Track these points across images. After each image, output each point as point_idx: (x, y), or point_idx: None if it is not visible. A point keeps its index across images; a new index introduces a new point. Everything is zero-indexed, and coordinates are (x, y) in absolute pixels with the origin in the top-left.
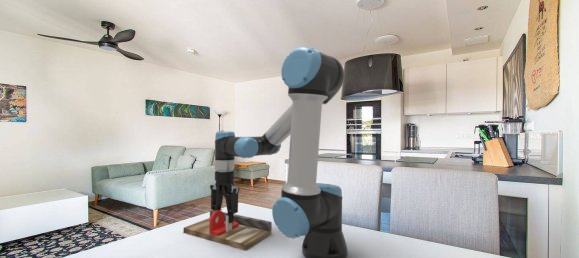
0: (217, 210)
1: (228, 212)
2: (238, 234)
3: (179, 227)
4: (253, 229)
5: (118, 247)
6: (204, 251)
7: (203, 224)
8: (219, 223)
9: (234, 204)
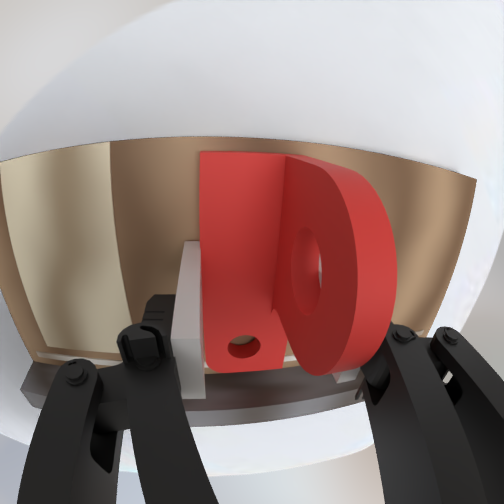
0: (370, 342)
1: (154, 374)
2: (92, 257)
3: (486, 216)
4: (94, 354)
5: (497, 14)
6: (180, 8)
7: (423, 265)
8: (287, 265)
9: (29, 483)
